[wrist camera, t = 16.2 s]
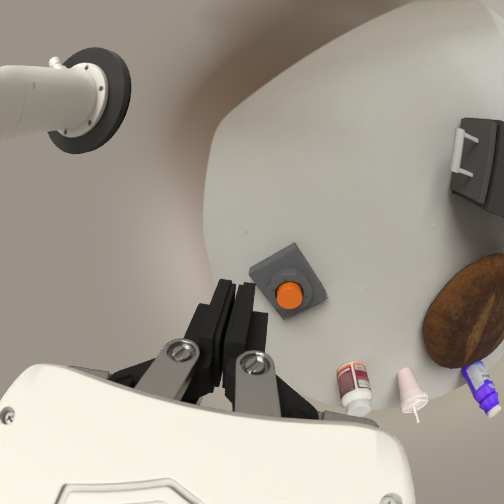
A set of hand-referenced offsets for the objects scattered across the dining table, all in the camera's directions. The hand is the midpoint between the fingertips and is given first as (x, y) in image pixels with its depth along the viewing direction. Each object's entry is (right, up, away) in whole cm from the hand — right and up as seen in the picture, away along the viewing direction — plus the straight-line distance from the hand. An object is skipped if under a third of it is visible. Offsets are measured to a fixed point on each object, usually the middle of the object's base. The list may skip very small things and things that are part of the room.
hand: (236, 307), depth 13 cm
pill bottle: (+21, -22, +38) cm, 49 cm away
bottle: (+58, -27, +36) cm, 73 cm away
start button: (+6, -3, +27) cm, 28 cm away
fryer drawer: (+36, +17, +17) cm, 43 cm away
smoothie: (+35, -25, +38) cm, 57 cm away
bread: (+47, -9, +29) cm, 56 cm away
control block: (+7, -2, +30) cm, 31 cm away
